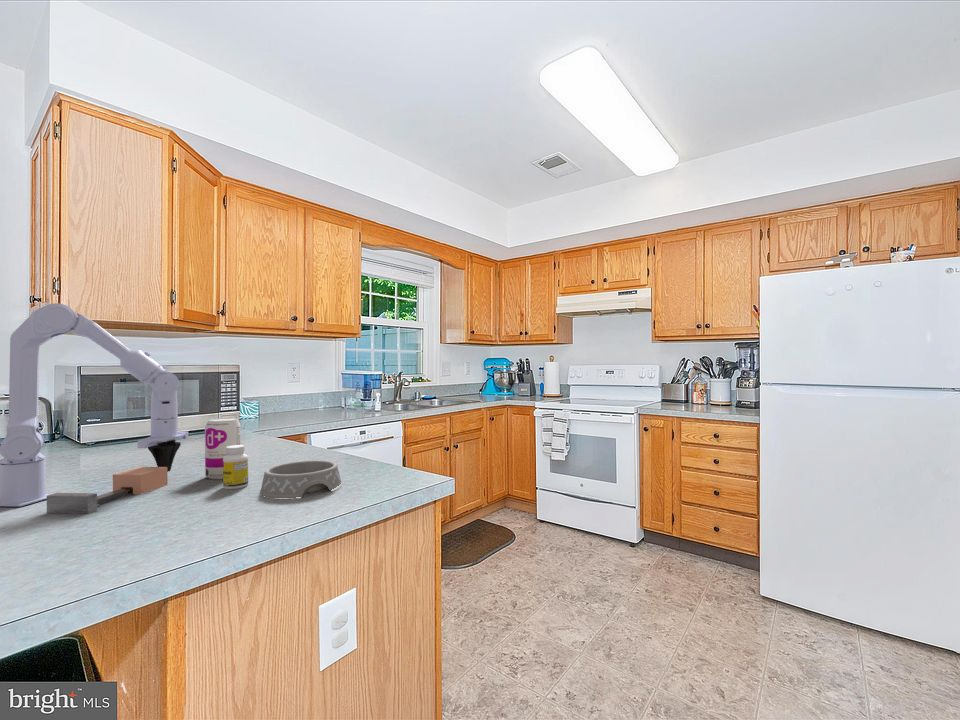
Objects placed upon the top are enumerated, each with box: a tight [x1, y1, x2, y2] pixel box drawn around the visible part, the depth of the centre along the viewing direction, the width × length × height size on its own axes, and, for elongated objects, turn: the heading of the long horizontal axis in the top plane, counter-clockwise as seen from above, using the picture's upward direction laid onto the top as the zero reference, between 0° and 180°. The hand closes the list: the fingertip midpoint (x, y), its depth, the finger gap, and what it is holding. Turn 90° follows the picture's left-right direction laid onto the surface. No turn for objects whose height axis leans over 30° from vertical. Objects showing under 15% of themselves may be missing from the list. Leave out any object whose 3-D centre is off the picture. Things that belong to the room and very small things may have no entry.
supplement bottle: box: [222, 444, 249, 490], centre depth 111 cm, size 5×5×10 cm
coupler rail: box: [46, 490, 129, 515], centre depth 99 cm, size 9×13×4 cm
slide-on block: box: [112, 466, 169, 495], centre depth 110 cm, size 7×8×4 cm
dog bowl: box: [259, 459, 342, 499], centre depth 109 cm, size 17×18×5 cm
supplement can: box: [204, 417, 242, 480], centre depth 122 cm, size 8×8×15 cm
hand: (164, 471), depth 117 cm, fingers closed
